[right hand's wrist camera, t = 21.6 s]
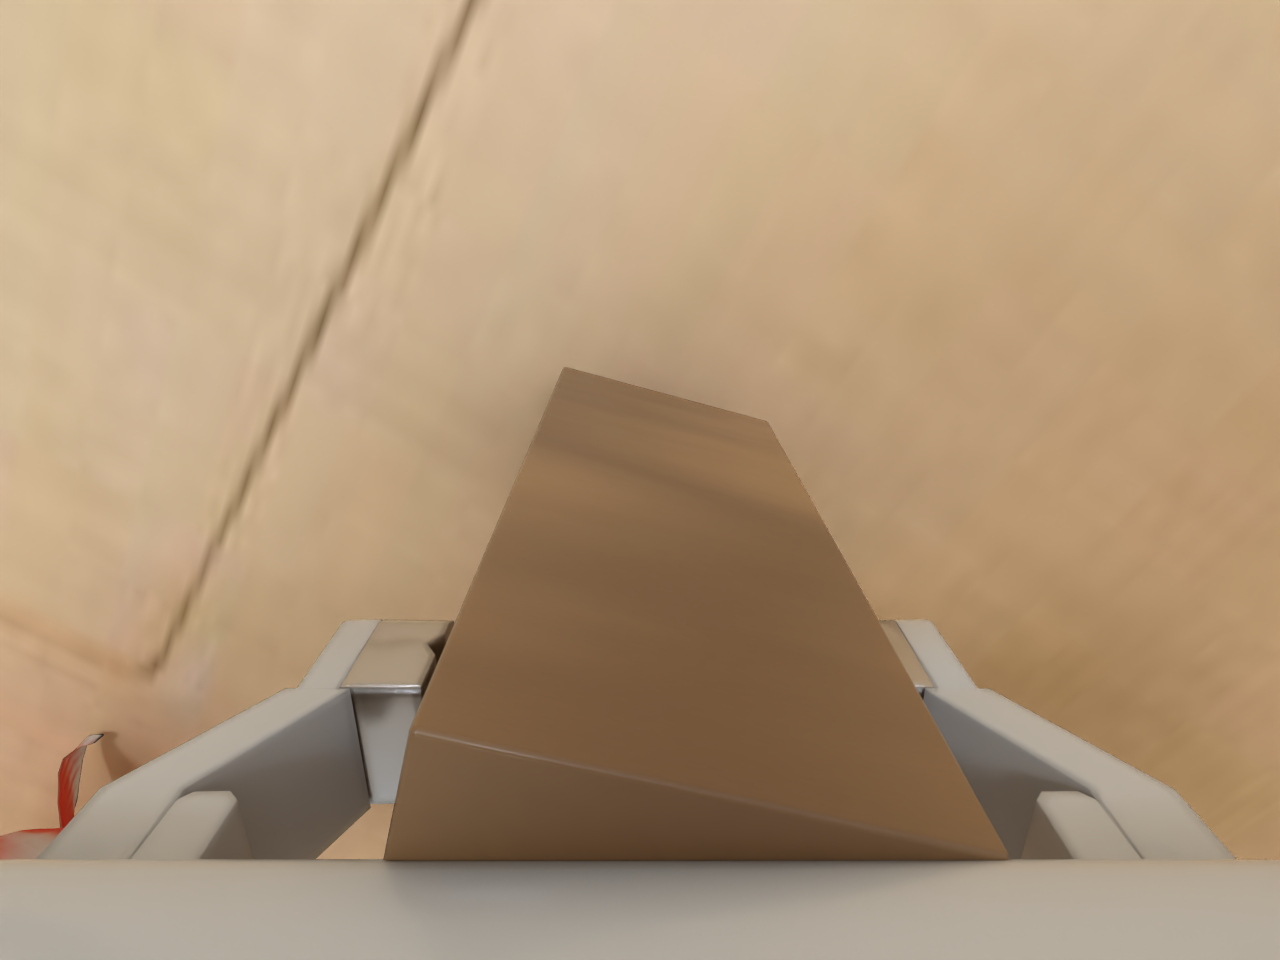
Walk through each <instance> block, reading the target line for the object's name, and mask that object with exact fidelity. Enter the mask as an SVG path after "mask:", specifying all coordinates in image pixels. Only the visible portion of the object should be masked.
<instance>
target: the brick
mask: <svg viewBox="0 0 1280 960" xmlns="http://www.w3.org/2000/svg"><path fill="white" fill-rule="evenodd" d="M383 860H386V861H859V860H1009V855H1008V852H1007V850H1006V848H1005V847H1004V845H1003V843H1002V841H1001V839H1000V838H999V836H998V834H997V832H996V830H995V829H994V827H993V825H992V823H991V821H990V820H989V818H988V816H987V814H986V813H985V811H984V809H983V807H982V805H981V804H980V802H979V800H978V798H977V796H976V795H975V793H974V791H973V789H972V787H971V786H970V784H969V782H968V780H967V778H966V777H965V775H964V773H963V771H962V769H961V768H960V766H959V764H958V762H957V760H956V759H955V757H954V755H953V753H952V752H951V750H950V748H949V746H948V744H947V743H946V741H945V739H944V737H943V735H942V734H941V732H940V730H939V728H938V726H937V725H936V723H935V721H934V719H933V717H932V716H931V714H930V712H929V710H928V708H927V707H926V705H925V703H924V701H923V699H922V698H921V696H920V694H919V692H918V691H917V689H916V687H915V685H914V683H913V682H912V680H911V678H910V676H909V674H908V673H907V671H906V669H905V667H904V665H903V664H902V662H901V660H900V658H899V656H898V655H897V653H896V651H895V649H894V647H893V646H892V644H891V642H890V640H889V639H888V637H887V635H886V633H885V631H884V630H883V628H882V626H881V624H880V622H879V621H878V619H877V617H876V615H875V613H874V612H873V610H872V608H871V606H870V604H869V603H868V601H867V599H866V597H865V595H864V594H863V592H862V590H861V588H860V586H859V585H858V583H857V581H856V579H855V578H854V576H853V574H852V572H851V570H850V569H849V567H848V565H847V563H846V561H845V560H844V558H843V556H842V554H841V552H840V551H839V549H838V547H837V545H836V543H835V542H834V540H833V538H832V536H831V534H830V533H829V531H828V529H827V527H826V525H825V524H824V522H823V520H822V518H821V517H820V515H819V513H818V511H817V509H816V508H815V506H814V504H813V502H812V500H811V499H810V497H809V495H808V493H807V491H806V490H805V488H804V486H803V484H802V482H801V481H800V479H799V477H798V475H797V473H796V472H795V470H794V468H793V466H792V465H791V463H790V461H789V459H788V457H787V456H786V454H785V452H784V450H783V448H782V447H781V445H780V443H779V441H778V439H777V438H776V436H775V434H774V432H773V430H772V429H771V427H770V425H769V423H768V422H767V421H763V420H760V419H756V418H752V417H749V416H745V415H741V414H738V413H734V412H730V411H726V410H723V409H719V408H715V407H712V406H708V405H704V404H701V403H697V402H693V401H689V400H686V399H682V398H678V397H675V396H671V395H667V394H663V393H660V392H656V391H652V390H649V389H645V388H641V387H638V386H634V385H630V384H626V383H623V382H619V381H615V380H612V379H608V378H604V377H600V376H597V375H593V374H589V373H586V372H582V371H578V370H575V369H571V368H567V367H564V368H563V370H562V372H561V374H560V377H559V379H558V381H557V384H556V386H555V388H554V391H553V393H552V395H551V398H550V400H549V403H548V405H547V407H546V410H545V412H544V414H543V417H542V419H541V421H540V424H539V426H538V428H537V431H536V433H535V435H534V438H533V440H532V442H531V445H530V447H529V450H528V452H527V454H526V457H525V459H524V461H523V464H522V466H521V468H520V471H519V473H518V475H517V478H516V480H515V482H514V485H513V487H512V489H511V492H510V494H509V497H508V499H507V501H506V504H505V506H504V508H503V511H502V513H501V515H500V518H499V520H498V522H497V525H496V527H495V529H494V532H493V534H492V536H491V539H490V541H489V544H488V546H487V548H486V551H485V553H484V555H483V558H482V560H481V562H480V565H479V567H478V569H477V572H476V574H475V576H474V579H473V581H472V583H471V586H470V588H469V591H468V593H467V595H466V598H465V600H464V602H463V605H462V607H461V609H460V612H459V614H458V616H457V619H456V621H455V623H454V626H453V628H452V630H451V633H450V635H449V638H448V640H447V642H446V645H445V647H444V649H443V652H442V654H441V656H440V659H439V661H438V663H437V666H436V668H435V670H434V673H433V675H432V677H431V680H430V682H429V684H428V687H427V689H426V692H425V694H424V696H423V699H422V701H421V703H420V706H419V708H418V710H417V713H416V715H415V717H414V720H413V722H412V724H411V727H410V729H409V734H408V739H407V744H406V749H405V754H404V759H403V764H402V769H401V774H400V779H399V784H398V789H397V794H396V799H395V804H394V809H393V814H392V819H391V824H390V829H389V834H388V839H387V844H386V849H385V854H384V859H383Z"/></svg>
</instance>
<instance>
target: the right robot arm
mask: <svg viewBox="0 0 1280 960" xmlns="http://www.w3.org/2000/svg"><path fill="white" fill-rule="evenodd" d="M879 622H880V624H881V626H882V628H883V630H884V631H885V633H886V635H887V637H888V639H889V640H890V642H891V644H892V646H893V647H894V649H895V651H896V653H897V655H898V656H899V658H900V660H901V662H902V664H903V665H904V667H905V669H906V671H907V673H908V674H909V676H910V678H911V680H912V682H913V683H914V685H915V687H916V689H917V691H918V692H919V694H920V696H921V698H922V699H923V701H924V703H925V705H926V707H927V708H928V710H929V712H930V714H931V716H932V717H933V719H934V721H935V723H936V725H937V726H938V728H939V730H940V732H941V734H942V735H943V737H944V739H945V741H946V743H947V744H948V746H949V748H950V750H951V752H952V753H953V755H954V757H955V759H956V760H957V762H958V764H959V766H960V768H961V769H962V771H963V773H964V775H965V777H966V778H967V780H968V782H969V784H970V786H971V787H972V789H973V791H974V793H975V795H976V796H977V798H978V800H979V802H980V804H981V805H982V807H983V809H984V811H985V813H986V814H987V816H988V818H989V820H990V821H991V823H992V825H993V827H994V829H995V830H996V832H997V834H998V836H999V838H1000V839H1001V841H1002V843H1003V845H1004V847H1005V848H1006V850H1007V852H1008V855H1009V860H859V861H386V860H356V859H316V858H317V857H318V856H319V855H320V854H321V853H322V852H323V851H325V850H326V849H327V848H328V847H329V846H330V845H331V844H332V843H333V842H334V841H335V840H336V839H337V838H338V837H340V836H341V835H342V834H343V833H344V832H345V831H346V830H347V829H348V828H349V827H350V826H351V825H352V824H354V823H355V822H356V821H357V820H358V819H359V818H360V817H361V816H362V815H363V814H364V813H365V812H366V811H367V810H369V809H370V804H391V803H395V799H396V794H397V789H398V784H399V779H400V774H401V769H402V764H403V759H404V754H405V749H406V744H407V739H408V734H409V729H410V727H411V724H412V722H413V720H414V717H415V715H416V713H417V710H418V708H419V706H420V703H421V701H422V699H423V696H424V694H425V692H426V689H427V687H428V684H429V682H430V680H431V677H432V675H433V673H434V670H435V668H436V666H437V663H438V661H439V659H440V656H441V654H442V652H443V649H444V647H445V645H446V642H447V640H448V638H449V635H450V633H451V630H452V628H453V626H454V621H435V620H382V619H350V620H347V621H344V622H343V623H342V624H341V625H340V627H339V628H338V630H337V631H336V633H335V634H334V635H333V637H332V638H331V640H330V641H329V643H328V644H327V645H326V647H325V648H324V650H323V651H322V653H321V654H320V655H319V657H318V658H317V660H316V661H315V663H314V664H313V666H312V667H311V668H310V670H309V671H308V673H307V674H306V676H305V677H304V678H303V680H302V681H301V683H300V684H299V686H298V687H297V688H285V689H283V690H282V691H280V692H278V693H276V694H274V695H272V696H270V697H269V698H267V699H265V700H263V701H261V702H259V703H257V704H256V705H254V706H252V707H250V708H248V709H246V710H244V711H243V712H241V713H239V714H237V715H235V716H233V717H231V718H230V719H228V720H226V721H224V722H222V723H220V724H218V725H217V726H215V727H213V728H211V729H209V730H207V731H205V732H204V733H202V734H200V735H198V736H196V737H194V738H192V739H191V740H189V741H187V742H185V743H183V744H181V745H179V746H178V747H176V748H174V749H172V750H170V751H168V752H166V753H165V754H163V755H161V756H159V757H157V758H155V759H153V760H152V761H150V762H148V763H146V764H144V765H142V766H140V767H139V768H137V769H135V770H133V771H131V772H129V773H127V774H126V775H124V776H122V777H120V778H118V779H116V780H114V781H113V782H111V783H109V784H107V785H105V786H103V787H101V788H100V789H99V790H98V791H97V792H96V793H95V795H94V796H93V797H92V798H91V799H90V800H89V801H88V802H87V803H86V804H85V806H84V807H83V808H82V809H81V810H80V811H79V812H78V813H77V814H76V815H75V817H74V818H73V819H72V820H71V821H70V822H69V823H68V824H67V825H66V826H65V828H64V829H63V830H62V831H61V832H60V833H59V834H58V835H57V836H56V837H55V839H54V840H53V841H52V842H51V843H50V844H49V845H48V846H47V847H46V848H45V850H44V851H43V852H42V853H41V854H40V855H39V856H38V857H37V858H36V859H0V960H1280V859H1236V858H1235V857H1234V855H1233V854H1232V853H1231V852H1230V851H1229V850H1228V849H1227V848H1226V847H1225V845H1224V844H1223V843H1222V842H1221V841H1220V840H1219V839H1218V838H1217V836H1216V835H1215V834H1214V833H1213V832H1212V831H1211V830H1210V829H1209V827H1208V826H1207V825H1206V824H1205V823H1204V822H1203V821H1202V820H1201V818H1200V817H1199V816H1198V815H1197V814H1196V813H1195V812H1194V811H1193V809H1192V808H1191V807H1190V806H1189V805H1188V804H1187V803H1186V802H1185V801H1184V799H1183V798H1182V797H1181V796H1180V795H1179V794H1178V793H1177V792H1176V790H1175V789H1173V788H1171V787H1169V786H1168V785H1166V784H1164V783H1162V782H1160V781H1158V780H1157V779H1155V778H1153V777H1151V776H1149V775H1147V774H1145V773H1144V772H1142V771H1140V770H1138V769H1136V768H1134V767H1133V766H1131V765H1129V764H1127V763H1125V762H1123V761H1122V760H1120V759H1118V758H1116V757H1114V756H1112V755H1111V754H1109V753H1107V752H1105V751H1103V750H1101V749H1100V748H1098V747H1096V746H1094V745H1092V744H1090V743H1088V742H1087V741H1085V740H1083V739H1081V738H1079V737H1077V736H1076V735H1074V734H1072V733H1070V732H1068V731H1066V730H1065V729H1063V728H1061V727H1059V726H1057V725H1055V724H1054V723H1052V722H1050V721H1048V720H1046V719H1044V718H1043V717H1041V716H1039V715H1037V714H1035V713H1033V712H1032V711H1030V710H1028V709H1026V708H1024V707H1022V706H1020V705H1019V704H1017V703H1015V702H1013V701H1011V700H1009V699H1008V698H1006V697H1004V696H1002V695H1000V694H998V693H997V692H995V691H993V690H991V689H989V688H977V686H976V685H975V683H974V682H973V680H972V679H971V678H970V676H969V675H968V673H967V672H966V670H965V669H964V667H963V666H962V665H961V663H960V662H959V660H958V659H957V657H956V656H955V654H954V653H953V652H952V650H951V649H950V647H949V646H948V644H947V643H946V641H945V640H944V639H943V637H942V636H941V634H940V633H939V631H938V630H937V629H936V627H935V626H934V624H933V623H932V622H931V621H929V620H927V619H906V620H883V621H879Z"/></svg>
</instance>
